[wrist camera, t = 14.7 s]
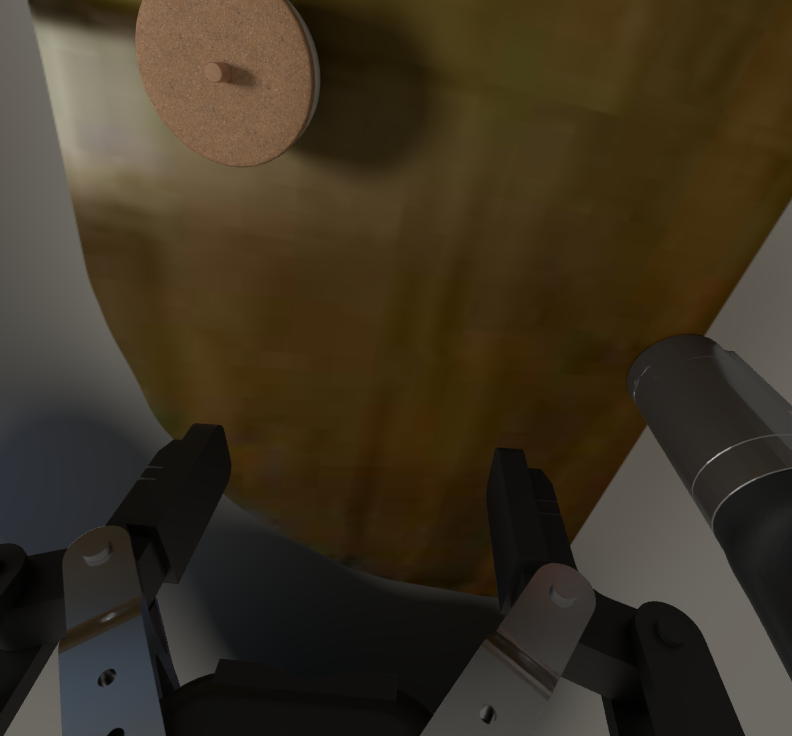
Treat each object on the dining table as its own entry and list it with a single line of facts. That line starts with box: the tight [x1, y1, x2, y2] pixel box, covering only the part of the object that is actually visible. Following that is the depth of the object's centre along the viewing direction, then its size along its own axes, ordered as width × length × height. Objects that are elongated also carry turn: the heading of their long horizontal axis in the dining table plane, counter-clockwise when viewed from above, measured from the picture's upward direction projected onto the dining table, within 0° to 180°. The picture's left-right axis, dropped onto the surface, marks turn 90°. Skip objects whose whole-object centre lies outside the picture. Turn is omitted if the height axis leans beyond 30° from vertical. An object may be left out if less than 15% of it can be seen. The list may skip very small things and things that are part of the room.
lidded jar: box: [135, 0, 321, 167], centre depth 30 cm, size 11×11×9 cm
